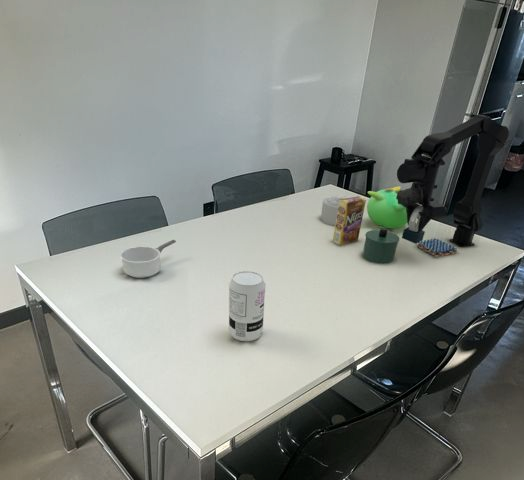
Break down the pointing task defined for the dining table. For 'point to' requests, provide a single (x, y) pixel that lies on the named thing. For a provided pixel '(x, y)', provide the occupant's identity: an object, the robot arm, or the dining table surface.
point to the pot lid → (382, 236)
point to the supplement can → (246, 305)
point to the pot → (379, 252)
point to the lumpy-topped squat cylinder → (330, 210)
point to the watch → (414, 228)
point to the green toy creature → (386, 208)
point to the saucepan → (142, 260)
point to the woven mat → (436, 247)
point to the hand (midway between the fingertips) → (414, 228)
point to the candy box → (349, 220)
